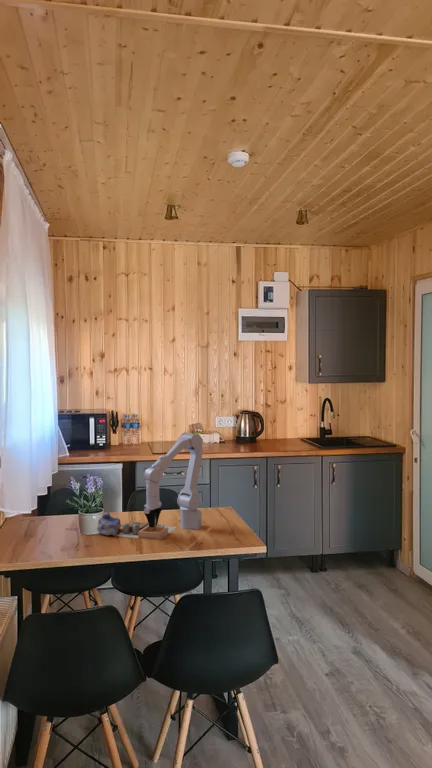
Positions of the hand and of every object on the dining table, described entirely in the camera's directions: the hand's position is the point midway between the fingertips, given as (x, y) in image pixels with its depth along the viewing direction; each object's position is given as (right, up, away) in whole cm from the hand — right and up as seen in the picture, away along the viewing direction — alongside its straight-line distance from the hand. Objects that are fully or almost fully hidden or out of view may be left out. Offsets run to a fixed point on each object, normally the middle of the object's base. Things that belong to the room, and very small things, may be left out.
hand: (153, 526), depth 246 cm
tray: (0, -4, 0) cm, 4 cm away
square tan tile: (-8, -4, +8) cm, 12 cm away
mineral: (-21, -5, +5) cm, 22 cm away
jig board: (-3, -5, +6) cm, 8 cm away
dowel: (0, -2, 0) cm, 2 cm away
